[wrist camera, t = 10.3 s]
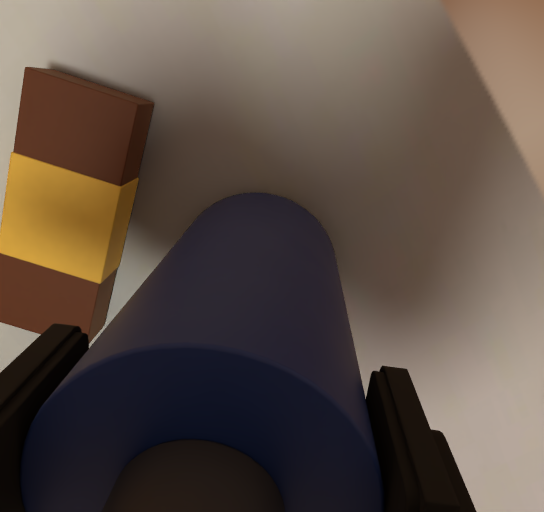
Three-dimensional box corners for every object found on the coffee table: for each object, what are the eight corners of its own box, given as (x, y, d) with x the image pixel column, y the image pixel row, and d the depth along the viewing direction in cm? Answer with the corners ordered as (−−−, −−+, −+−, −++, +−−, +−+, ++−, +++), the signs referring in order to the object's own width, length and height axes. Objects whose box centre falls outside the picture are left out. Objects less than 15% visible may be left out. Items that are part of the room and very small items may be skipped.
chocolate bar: (52, 68, 18) (22, 65, 16) (156, 103, 19) (139, 104, 17) (16, 298, 22) (-13, 319, 20) (105, 325, 22) (86, 349, 20)
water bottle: (348, 203, 19) (464, 470, 5) (323, 349, 21) (364, 799, 8) (183, 182, 19) (-93, 395, 6) (175, 329, 21) (-42, 741, 8)
